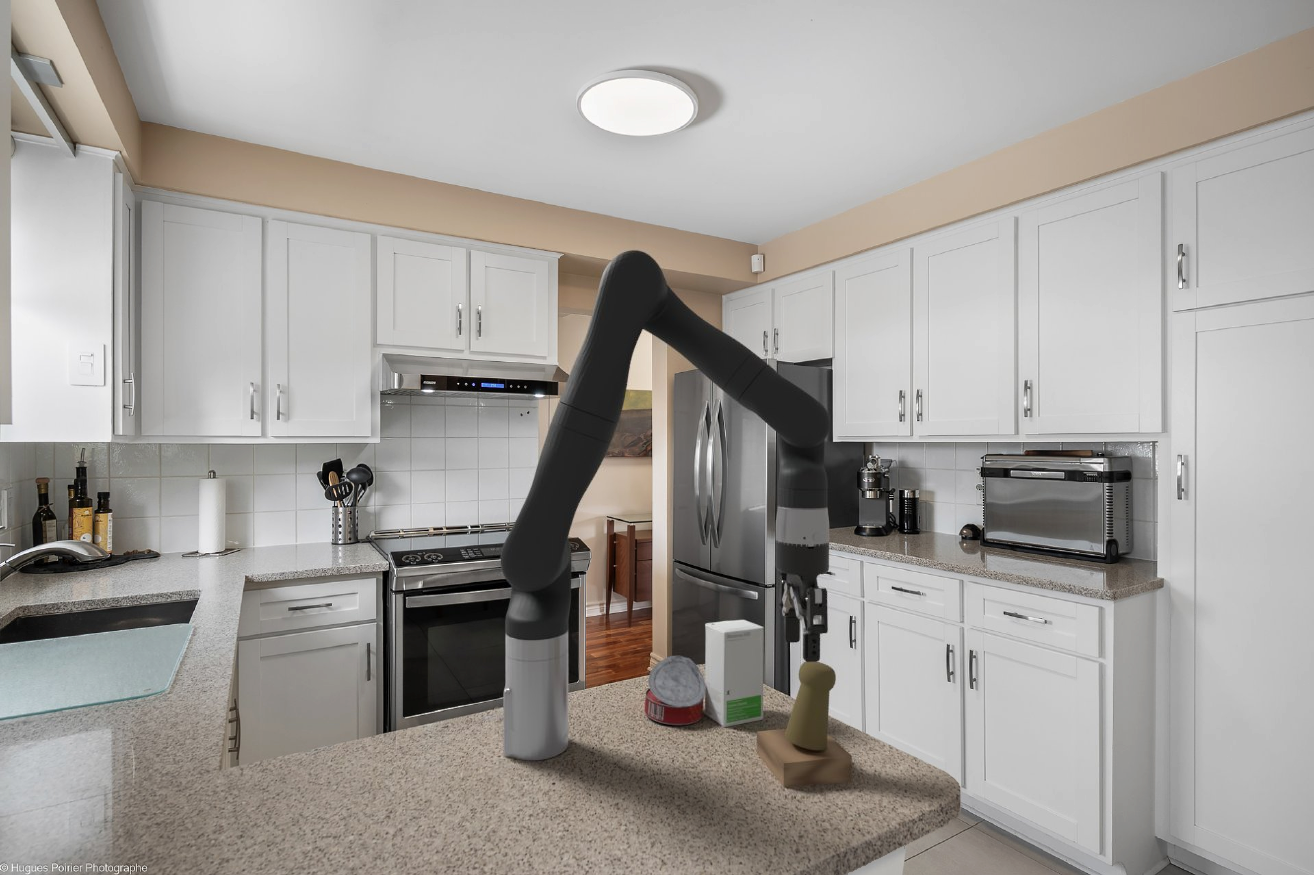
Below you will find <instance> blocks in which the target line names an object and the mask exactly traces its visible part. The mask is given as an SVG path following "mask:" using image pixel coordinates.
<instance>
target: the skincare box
mask: <svg viewBox="0 0 1314 875" xmlns="http://www.w3.org/2000/svg"><path fill="white" fill-rule="evenodd" d="M704 627H705V668H704V669H705V672H704V673H705V674H704V675H705V676H704V682H705V685H706V689H705V695H704V715H706V716H707V717H709V718H710V719H711V720H713V721H714V722H715V723H718V724H719V725H720V726H722V728H727V727H731V726H737V725H742V724H747V723H748V724H749V723H753V722H757V721H761V720H764V628H765V627H764V626H761V625H759V624H756V623H754V622H751V621H748V620H746V619H737V620H736V619H735V620H723V621H722V620H721V621H716V622H707V623H705V624H704Z"/></svg>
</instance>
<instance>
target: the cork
mask: <svg viewBox="0 0 1314 875" xmlns="http://www.w3.org/2000/svg"><path fill="white" fill-rule="evenodd" d="M836 677H837V676H836V671H835V670H834V669H833V667H832V666H830V665H828V664H825V663H823V662H820V661H817V662H806V661H804V662H803V663H802V664H801V665H800V667H799V669H798V680H799V682H800V685H799V688H798V691H797V695H796V698H795V701H794V705H793V707H792V711H791V714H790V716H789V718H788V722H787V725H786V728H785V729H786V732H785V735H784V736H785V737H786V739H787V740H789V741H790V742H792V743H793V744H795V745H798V746H800V747H803V748H806V749H811V750H825V749H826V748H827V735H828V733H829V732H828V730H829V710H830V707H829V706H830V691H831V690H832V689H833V688H834V686H836V681H837V679H836Z"/></svg>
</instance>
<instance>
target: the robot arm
mask: <svg viewBox="0 0 1314 875" xmlns="http://www.w3.org/2000/svg"><path fill="white" fill-rule="evenodd" d="M664 274H665V273H664V272H663V270H662V268H661V266H660V264H658V262H657V261H656V259H654V258H653V256H651V255H650V254H648V253H646V251H642V250H639V249H638V250H636V249H635V250H634V249H632V250H626V251H623V252H621V253H619V254H618V255H616V256H615V257H613V258H612V259H611V260H610V261H609V263H608V264H607V266H606V267H605V268H604V271H603V273H602V276H601V278H600V281H599V284H598V285H599V286H598V289H597V295H596V298H595V302H594V306H593V310H592V314H591V318H590V321H589V325H588V328H587V332H586V334H585V337H584V340H583V342H582V345H581V347H580V349H579V352H578V354H577V357H576V358H575V360H574V363H573V366H572V368H571V371H570V374H569V376H568V378H567V381H566V383H565V386H564V389H563V391H562V393H561V396H560V397H559V401H558V402H557V406H556V408H555V412H554V414H553V416H552V419H551V422H550V424H549V427H548V431H547V434H546V437H545V441H544V443H543V446H542V449H541V453H540V455H539V458H538V463H537V465H536V469H535V473H534V477H533V479H532V482H531V486H530V489H529V491H528V494H527V496H526V499H525V501H524V503H523V504H522V507H521V509H520V511H519V513H518V515H517V517H516V520H515V521H514V524H513V526H511V527H512V528H511V529H510V532H509V533H508V535H507V537H506V538H505V541H504V543H503V545H502V548H501V550H500V567H501V571H502V574H503V576H504V578H505V580H506V581H507V583H508V584H509V585H510V586H511V588H510V591H511V592H510V598H509V599H510V600H509V604H508V607H507V611H506V615H505V686H504V689H503V694H502V695H503V700H502V701H503V709H502V710H503V711H502V712H503V716H502V717H503V721H502V722H503V728H502V730H503V733H502V734H503V737H502V738H503V742H502V743H503V744H502V745H503V747H502V748H503V749H502V750H503V754H502V755H503V758H508V757H509V758H514V759H517V760H522V761H541V760H547V759H551V758H554V757H556V756H559V755H560V754H562V753H564V752H565V751H566V750H567V748H568V746H569V733H570V732H569V729H570V728H569V618H570V617H569V616H570V610H571V603H572V601H571V600H572V548H571V543H570V540H569V534H570V531H571V528H572V524H573V521H574V519H575V515H576V512H577V509H578V507H579V505H580V503H581V500H582V499H583V498H584V495H585V493H586V492H587V490H588V489H589V486H590V485H591V483H592V481H593V480H594V478H595V477H596V475H597V473H598V471H599V470H600V469H599V468H600V467H601V465H602V463H603V461H604V459H605V457H606V454H607V452H608V450H609V447H610V446H611V444H612V440H613V438H614V436H615V433H616V432H615V431H616V429H617V426H618V424H619V422H620V418H621V415H622V411H623V408H624V402H625V398H626V393H627V387H628V381H629V374H630V370H631V369H630V368H631V362H632V358H633V356H634V352H635V348H636V346H637V344H638V341H639V338H640V337H641V334H642V332H643V330H644V331H646V332H647V333H649V334H650V335H652V336H654V337H656V338H658V339H659V340H661V341H662V342H664V344H666V345H668V346H669V347H671V348H672V349H674V350H675V351H676V352H677V353H679V354H680V355H682V356H683V358H685V359H686V360H687V361H688V362H689V363H690V364H692V365H693V366H694V367H695V368H696V369H698V370H699V371H700V372H701V373H702V374H703V375H704V376H705V377H707V378H708V379H709V380H710V381H711V382H712V383H714V385H716V386H717V387H718V388H719V389H721V390H722V391H723V392H724V393H725V394H726V395H728V396H730V397H731V399H733V400H734V401H735V402H737V404H739V405H740V406H742V407H744V409H746V410H748V411H750V412H752V413H754V414H755V415H756V416H758V417H759V418H760V419H761V420H762V421H764V422H765V423H766V424H767V425H768V426H769V427H770V428H771V429H773V430H774V431H775V432H776V433H777V447H778V449H777V450H778V461H779V462H778V463H779V464H778V465H779V469H778V470H779V471H778V477H777V478H778V480H777V510H776V517H775V519H776V520H775V569H776V570H777V571H779V573H778V574H779V588H778V590H779V591H778V594H779V595H778V608H779V609H780V610H781V609H782V610H781V612H782V613H781V614H782V617H783V618H784V622H783V624H784V626H783V627H784V628H783V633H784V634H783V635H784V636H783V639H784V640H785V642H786V643H793V644H794V643H799V642H800V639H801V627H802V632H803V633H802V659H803V660H804V662H820V659H821V635H823V634H827V633H829V632H828V631H829V624H828V619H829V618H828V615H829V614H828V590H827V588H825V587H823V588H822V587H819V584H818V576H820V575H824V574H826V573H828V572H829V570H830V520H829V510H828V501H829V500H828V488H829V486H828V476H827V472H826V469H825V439H826V438H827V437H828V435H829V433H830V430H831V418H830V413H829V412H828V410H827V409H826V408H825V406H824V405H823V404H822V403H821V402H820V401H818V400H817V399H816V398H814V397H813V396H812V395H810V394H809V393H808V392H807V391H805V390H803V389H802V388H800V387H799V386H797V385H796V384H794V383H792V381H790V380H788V379H787V378H785V377H783V376H782V375H780V374H779V372H777V370H776V369H774V367H772V366H771V365H770V364H768V363H767V362H766V361H765V360H763V358H762V357H760V356H758V355H757V354H756V353H755V352H754V351H752V350H751V349H749V347H747V346H746V345H744V344H743V343H741V342H740V341H738V339H736V338H734V337H732V336H731V335H730V334H727V333H726V332H724V331H722V330H720V329H719V328H718V327H716V326H714V325H713V324H710V323H709V322H708V321H707V320H705V319H704V318H702V317H701V316H700V315H698V314H697V313H696V312H695V311H693V310H692V309H691V308H690V307H688V306H687V304H685V303H684V301H683V300H682V299H680V297H679V296H678V295H677V294H676V293H675V292H674V290H672V288H671V287H670V286H669V285H668V283H667V280H666V278H665V275H664Z"/></svg>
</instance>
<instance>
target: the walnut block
mask: <svg viewBox="0 0 1314 875" xmlns="http://www.w3.org/2000/svg"><path fill="white" fill-rule="evenodd" d="M786 729H787V728H778V729H771V730H769V729H768V730H760V731H759V730H758V731H756V755H757V754H758V755H759V756H758V755H757V756H758V757H759V759H760V760H761V759H762V760H761V761H762V762H763V764H766V765H765V766H766V768H768V769H770V770H771V771H770V770H769V771H770V773H772V775H773V776H774V777H775V778H776V780H777V779H778V780H777V781H778V782H779V783H780V785H781V786H782V787H783V788H791V787H792V788H793V786H794V787H803V786H814V785H828V784H839V783H849V782H852V779H853V777H852V776H853V774H852V773H853V772H852V771H853V767H852V765H853V762H852V761H853V760H852V759H853V758H852V757H853V756H852V755H851V754H850V753H849V751H848V750H846V749H845V748H844V747H843V746H842V745H841V744H840V743H838V742H837V740H835V739H834V738H833V737H832V735H830V734H828V735H827V748H826V749H825V750H811V749H806V748H803V747H800V746H798V745H795V744H793V743H792V742H790V741H789V740H787V739H786V737H785V736H784V735H785V732H786Z"/></svg>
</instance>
